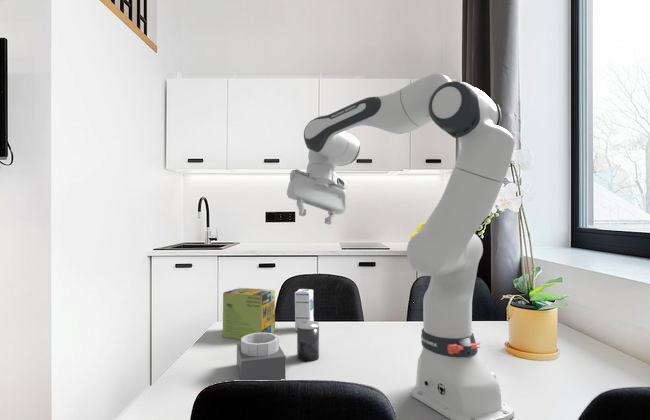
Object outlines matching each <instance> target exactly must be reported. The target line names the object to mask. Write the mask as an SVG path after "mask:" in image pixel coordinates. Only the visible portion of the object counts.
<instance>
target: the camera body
mask: <svg viewBox="0 0 650 420" xmlns="http://www.w3.org/2000/svg"><path fill="white" fill-rule="evenodd" d="M286 357H287V356H286V354H285V352H284V351H283V349H282V348H281V346H280V337H279V336H278V334H275V333H274V334H272V333H263V332H262V333H252V334H249V335H245V336H244V337H242V338H241V339H240V342H237V343H236V368H237V373H238V375H239V380H281V379H285V380H286V375H287V374H286V373H287V372H286V362H287V361H286Z"/></svg>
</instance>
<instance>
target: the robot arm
mask: <svg viewBox="0 0 650 420" xmlns="http://www.w3.org/2000/svg"><path fill="white" fill-rule="evenodd" d="M501 110H502V109H501V108H500V106H499V104H498V103H497V102H496V101H495V100H493V99H492V98H491V97H489V96H488V95H487V94H486V93H485V92H484V91H482V90H480V89H479V88H477V87H474V86H472V85H471V84H469V83H467V82H464V81H459V80H457V81H456V80H455V81H452V80H451V79H450V77H449V76H447V75H445V74H443V73H440V72H436V73H431V74H429V75H426V76H424V77H422V78H419V79H417V80H415V81H413V82H411V83H409V84H407V85H405V86H403V87H402V88H401V89H398V90H396V91H393V92H392V93H389V94H385V95H379V96H369V97H366V98H363V99H360V100H357V101H355V102H354V103H352V104H351V103H350V105H347V106H344V107H342V108H340V109H338V110H337V111H334V112H332V113H328V114H325V115H320V116H317V117H315V118H313V119H312V120H310V121H309V122H308V123H307V124H306V126H305V127H304V130H303V139H304V143H305V146H306V148H307V149H308V155H307V156H308V157H307V158H308V163H307V166H306V171H305V172H304V171H301V170H300V169H292V170H291V171H290V173H289V181H288V182H289V183H288V186H287V190H286V195H287V198H288V199H292V200H295V201H296V206H297V208H298V215H299V216H301V217H306V215H307V209H305V207H304V204H306V205H308V206H311V207H315V208H317V209H321V210H323V211H326V212H327V214H328V216H327V217H325V218H324V224H326V225H331V224H333V223H332V222H333V218H334V217H335V216H336V215H340V214H344V213H345V212H346V210H347V203H348V201H347V191H346V189H347V186H348V185H347V182H346V181H344V180H343V179H342V178H341V177H340V176H339V175H337V173H335V168H336V167H343V166H347V165H350V164H352V163H353V162H355V161H356V160H357V158H358V157H359V154H360V151H361V143H360V141H359V139H358V138H357V137H356V136H355V135H353V134H351V133H349V130H350V129H353V128H355V127H360V126H367V127H372V128H376V129H380V130H383V131H386V132H388V133H391V134H394V135H395V134H396V135H404V134H407V133H411V132H414V131H415V130H417V129H419V128H421V127H423V126H425V125H426V124H429V123H430V122H434V124H435V125H436V126H437V127H438V128H440V129H441V130H443V131H444V132H445V133H447V134H448V135H450V136H451V137H452V138H453V139H457V138H458V140H459V141H460V151H459V154H458V157H457V159H456V162H455V164H454V167H453V169H452V172H451V174H450V177H449V179H448V181H447V184H446V187H445V189H444V191H443V194H442V196H441V197H440V199H439V201H438V203H437V204H436V206H435V208H434V209H433V211H432V213H430V215H429V217H428V219H426V222H425V223H424V224H423V226H422V227H421V228H420V229H419V231H418V232H417V233H415V235H414V236H412V237H411V239H409V241H408V243H407V246H406V258H407V261H408V264H409V265H410V266H411V268H412V269H413V270H414V271H416V272H417V273H418V274H421V275H424V276H429V277H430V282H429V285H428V286H427V289H426V291H425V293H424V294H423V295H424V296H423V300H422V302H423V305H422V306H423V309H422V310H423V311H422V312H423V314H422V315H423V316H422V317H423V320H422V321H423V325H422V326H423V327H422V329H421V334H420V339H421V341H420V342H421V345H422V349H421V353H420V354H419V357H418V359H417V366H416V367H417V368H416V379H415V387H414V388H413V389H412V390H411V396H412V397H413V398H414V399H416V400H418V401H420V402H421V403H423V404H424V405H426V406H428V407H430V408H431V409H433V410H434V411H436V412H438V413H439V414H441V415H442V416H444V417H446V419H447V418H448V419H449V420H511V419H513V417H514V416H515V411H514V408H512V407H511V406H510V405H508V403H506V402H505V401H504V400H503V399H502V393H501V391H502V390H501V388H500V387H501V386H500V384H499V381H498V380H497V377H496V374H495V372H493V371H491V370H490V369H489V368H488V366H487V365H486V363H485V362H484V361H483V359H482V358H481V356H480V355H479V353H478V351H479V350H478V349H480V348H481V346H478V345H481V342H476V339H475V335H474V333H473V332H472V331H473V327H472V326H473V325H472V324H473V321H472V320H473V317H472V316H473V296H474V291H475V284H476V279H477V273H478V267H479V263H480V260H481V258H482V256H483V253H484V248H483V247H484V246H483V242H482V240H481V238H480V237H479V236H478V234H476V232H477V230H478V229H479V227H480V226H481V225H482V224H483V222H484V221H485V220H486V219H487V218H488V217H489V216H490V214H491V211H492V210H493V207H494V205H495V203H496V201H497V200H496V199H497V197H498V195H499V193H500V192H501V191H500V190H501V189H502V186H503V184H504V181H505V179H506V176H507V174H508V171H509V168H510V165H511V161H512V158H513V153H514V151H515V150H514V149H515V143H516V142H515V138H514V136H513V135H512V133H510V132H509V131H508V130H507V129H505V128H504V127H502V126H501V123H502V118H503V116H502V114H503V113H502V112H501Z"/></svg>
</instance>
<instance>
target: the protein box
mask: <svg viewBox="0 0 650 420" xmlns="http://www.w3.org/2000/svg"><path fill="white" fill-rule="evenodd" d="M262 332H263V333H272V334H275V333H276V289H267V288H266V289H265V288H252V287H251V288H249V287H248V288H247V287H237V288H235V289H231V290H227V291H224V292H223V293H222V338H228V339H230V338H231V339H235V340H241V338H242V337H244V336H245V335H249V334H252V333H262Z"/></svg>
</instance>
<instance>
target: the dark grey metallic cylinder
mask: <svg viewBox="0 0 650 420" xmlns="http://www.w3.org/2000/svg"><path fill="white" fill-rule="evenodd" d="M319 336H320V326H319V322H317V321H315V320H314V321H302V322H299V323H298V327H297V331H296V338H297V339H296V340H297V341H296V342H297V344H296V346H297V347H296V349H297V350H296V351H297V352H296V356H297V357H296V359H297V360H298V361H300V362H304V363H311V362H316V361H318V360H319V358H320V337H319Z"/></svg>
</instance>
